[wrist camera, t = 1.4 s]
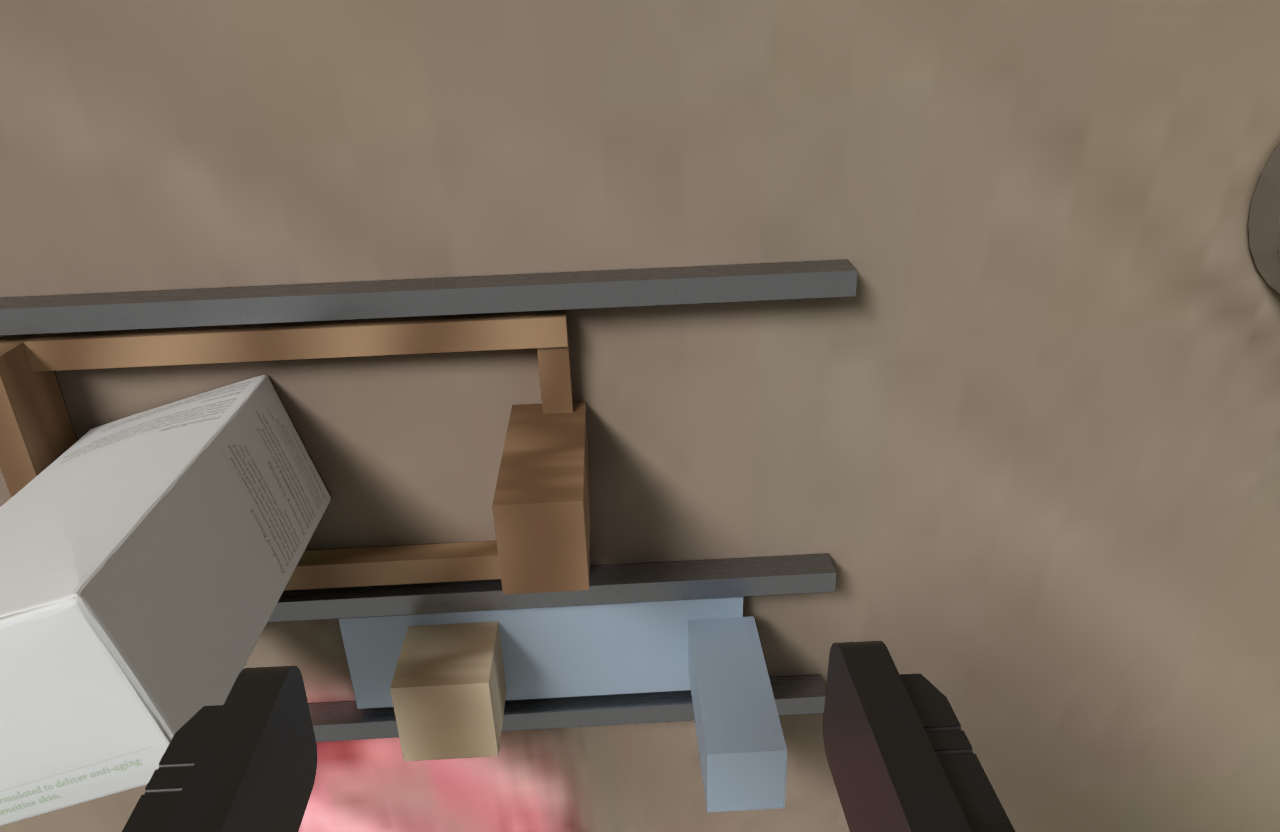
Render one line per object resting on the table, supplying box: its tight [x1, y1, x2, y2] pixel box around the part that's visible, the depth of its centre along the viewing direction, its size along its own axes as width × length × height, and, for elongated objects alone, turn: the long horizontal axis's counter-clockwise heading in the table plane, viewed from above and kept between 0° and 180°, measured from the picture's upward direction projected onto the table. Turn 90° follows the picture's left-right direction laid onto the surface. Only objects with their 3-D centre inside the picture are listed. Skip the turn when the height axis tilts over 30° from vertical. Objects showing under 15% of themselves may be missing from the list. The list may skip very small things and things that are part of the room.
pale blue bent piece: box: [338, 597, 787, 812], centre depth 39 cm, size 18×5×9 cm, turn 92°
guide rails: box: [0, 260, 858, 742], centre depth 39 cm, size 34×22×2 cm, turn 92°
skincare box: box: [0, 375, 331, 826], centre depth 31 cm, size 8×7×16 cm
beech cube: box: [390, 621, 507, 761], centre depth 40 cm, size 4×4×4 cm
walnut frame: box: [0, 309, 591, 595], centre depth 34 cm, size 22×12×8 cm, turn 92°
